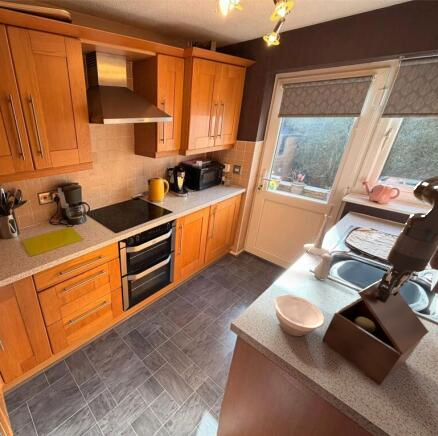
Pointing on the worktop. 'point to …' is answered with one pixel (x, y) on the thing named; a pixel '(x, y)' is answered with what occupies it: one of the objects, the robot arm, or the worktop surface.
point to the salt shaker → (323, 267)
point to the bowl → (297, 315)
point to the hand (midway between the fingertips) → (386, 297)
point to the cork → (365, 324)
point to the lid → (394, 317)
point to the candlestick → (321, 237)
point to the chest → (364, 343)
